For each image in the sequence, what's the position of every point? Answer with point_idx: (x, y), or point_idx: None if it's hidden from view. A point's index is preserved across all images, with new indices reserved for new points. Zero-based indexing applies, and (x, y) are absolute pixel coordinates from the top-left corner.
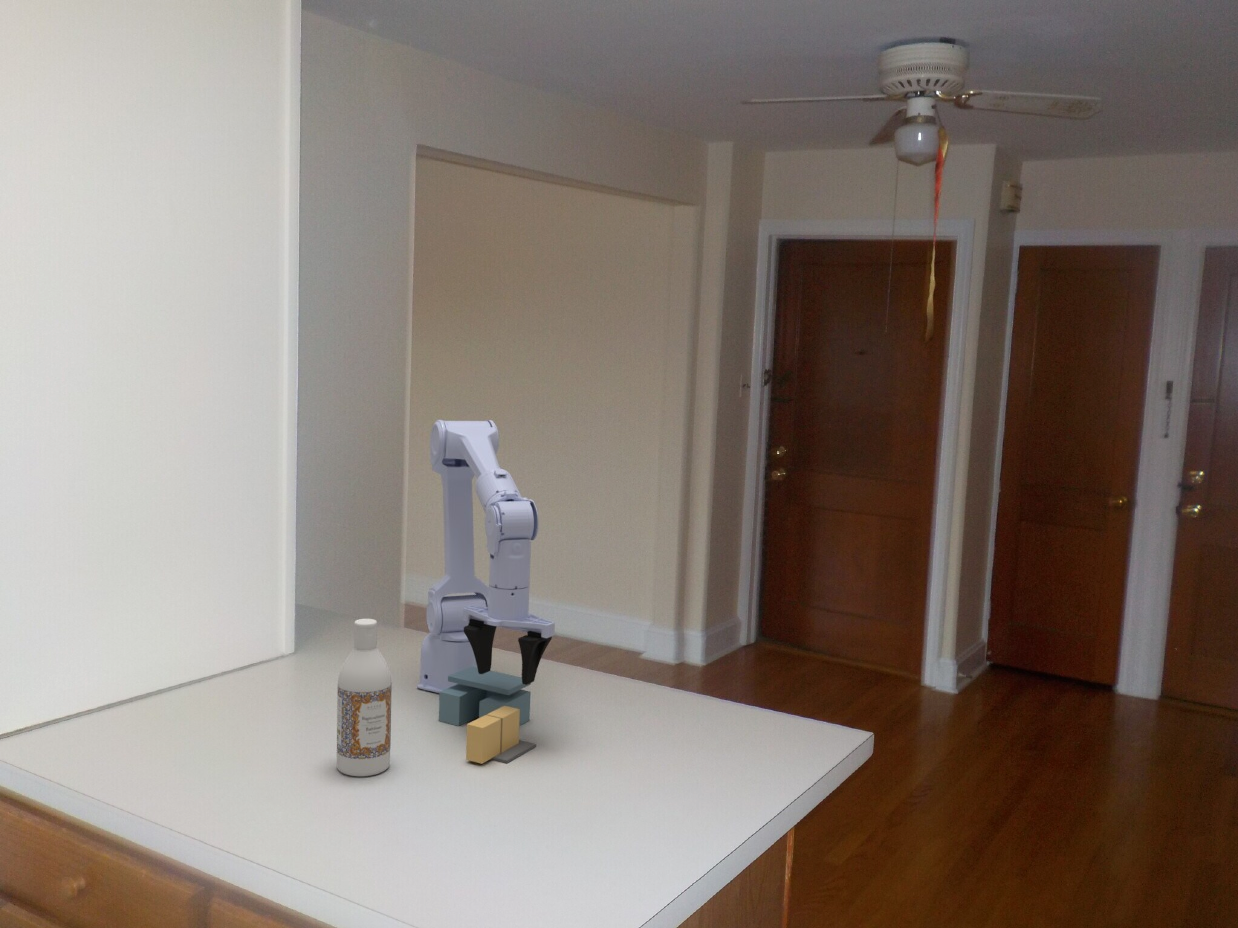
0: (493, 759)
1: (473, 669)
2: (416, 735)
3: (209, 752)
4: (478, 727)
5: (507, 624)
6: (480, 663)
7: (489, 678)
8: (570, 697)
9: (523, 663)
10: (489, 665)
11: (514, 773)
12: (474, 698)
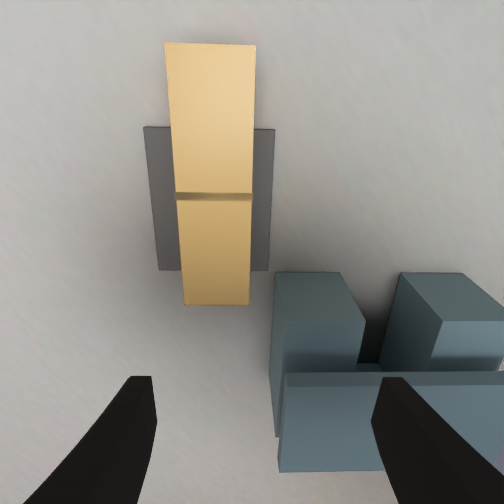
0: None
1: None
2: (481, 159)
3: None
4: (190, 44)
5: None
6: (413, 417)
7: None
8: (264, 484)
9: (86, 474)
10: (381, 441)
11: (76, 70)
12: (410, 361)
